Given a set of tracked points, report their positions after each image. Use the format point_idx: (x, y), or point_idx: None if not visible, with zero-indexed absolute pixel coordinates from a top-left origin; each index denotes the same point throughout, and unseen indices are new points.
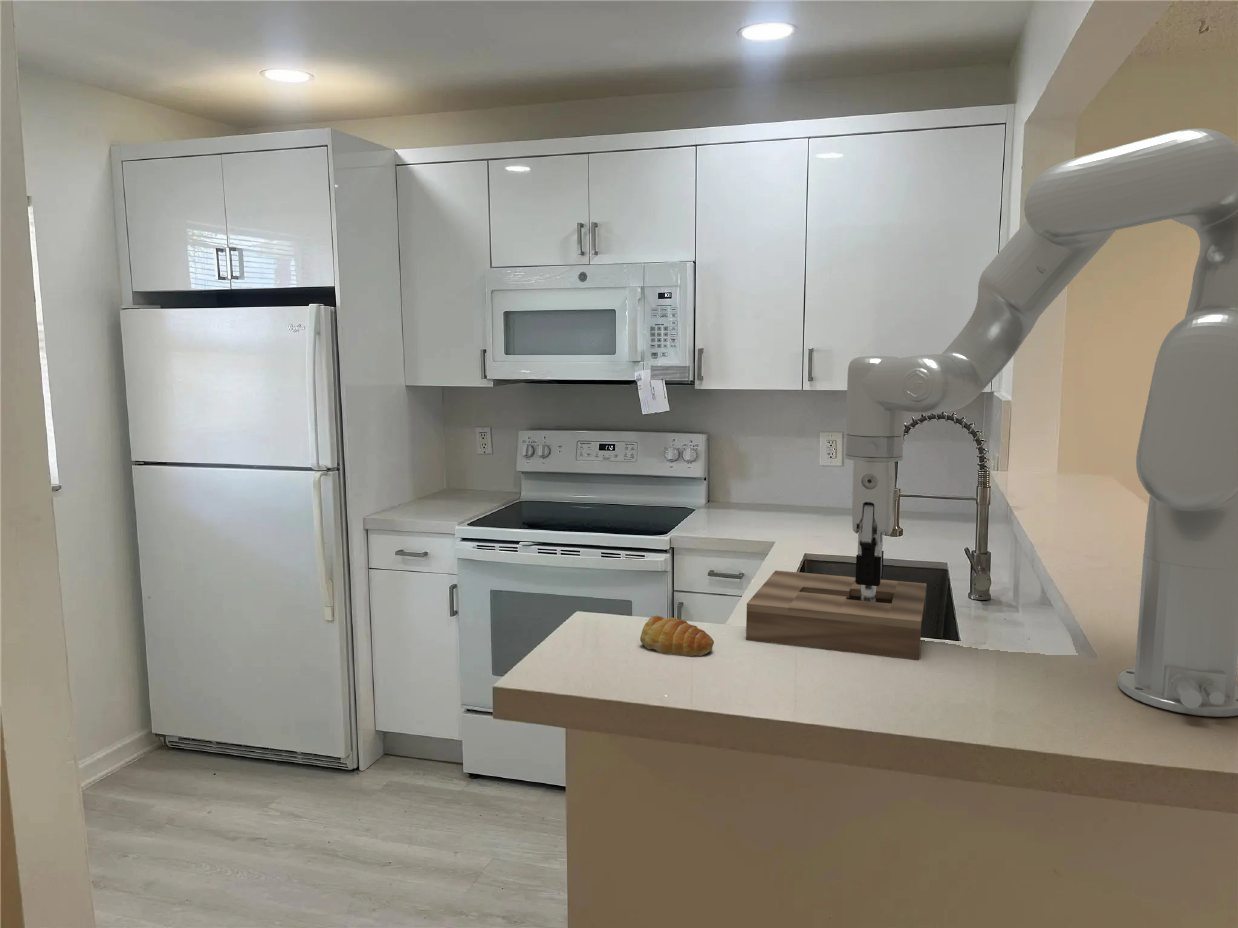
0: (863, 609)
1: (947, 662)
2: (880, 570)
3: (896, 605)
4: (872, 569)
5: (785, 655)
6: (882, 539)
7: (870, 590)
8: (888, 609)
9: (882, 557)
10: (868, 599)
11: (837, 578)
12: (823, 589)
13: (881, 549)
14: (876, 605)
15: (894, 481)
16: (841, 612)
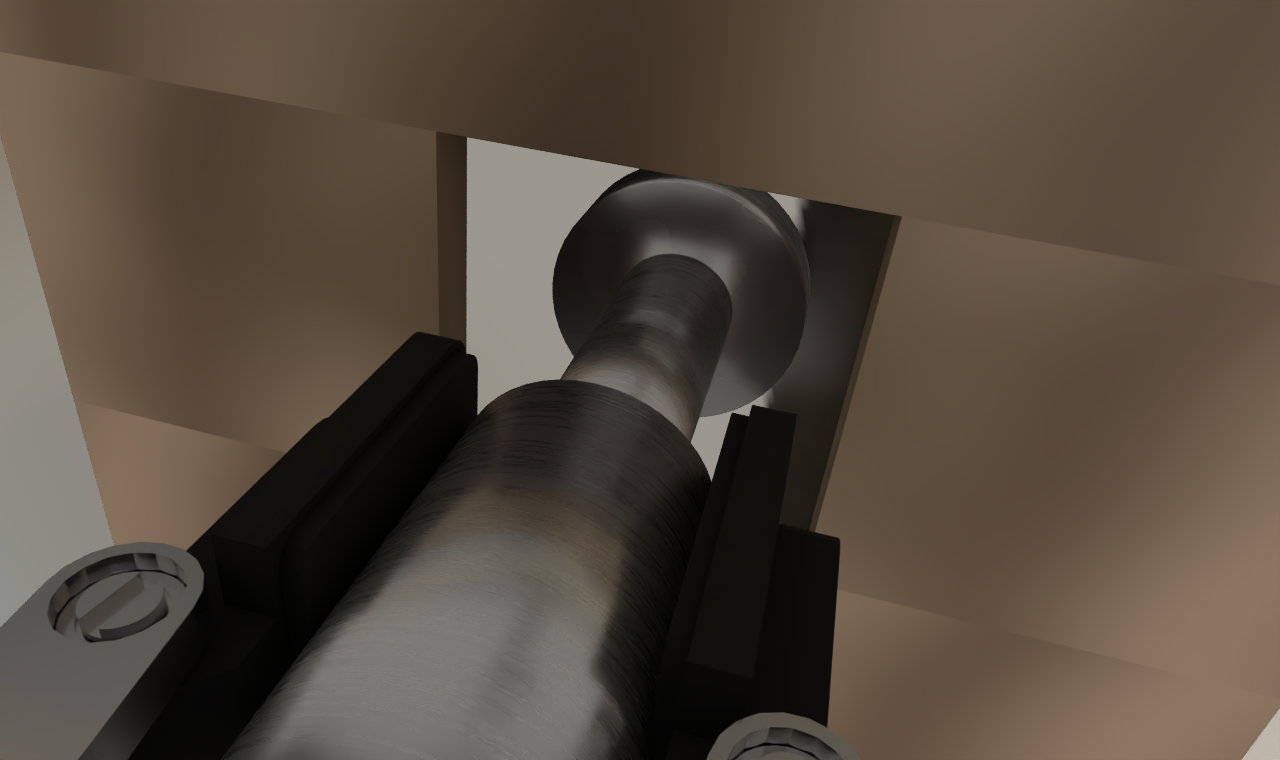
0: (1163, 505)
1: None
2: (776, 523)
3: (981, 172)
4: (825, 633)
5: (1275, 746)
6: (5, 670)
7: (689, 423)
8: (1168, 279)
9: (323, 491)
10: (705, 389)
11: (181, 527)
12: None
13: (473, 691)
14: (997, 372)
15: None
16: (1272, 680)
